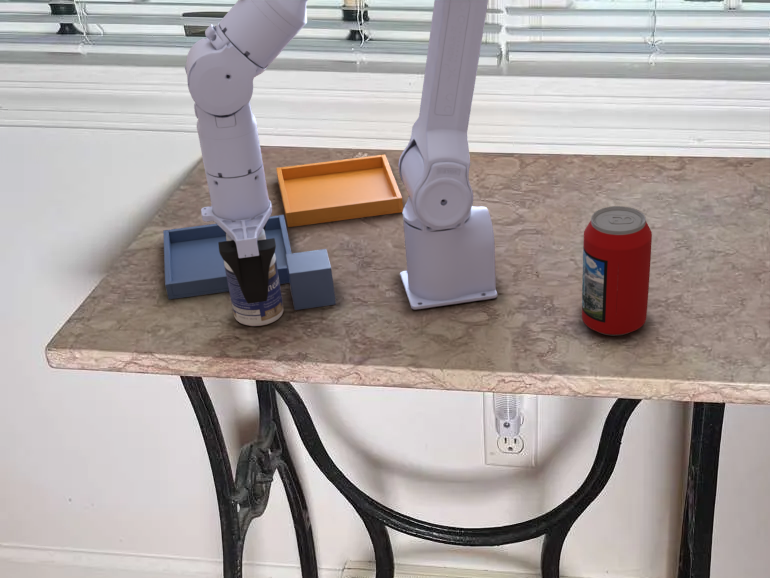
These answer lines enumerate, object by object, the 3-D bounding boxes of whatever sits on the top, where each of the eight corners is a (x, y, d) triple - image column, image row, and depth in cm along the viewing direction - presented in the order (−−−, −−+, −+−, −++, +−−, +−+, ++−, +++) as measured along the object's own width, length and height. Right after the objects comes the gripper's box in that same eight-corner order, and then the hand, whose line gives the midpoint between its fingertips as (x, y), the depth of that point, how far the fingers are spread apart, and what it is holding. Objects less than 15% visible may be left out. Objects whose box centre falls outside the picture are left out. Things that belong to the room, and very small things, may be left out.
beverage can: (580, 306, 127) (583, 203, 119) (644, 306, 126) (651, 202, 118) (581, 340, 121) (584, 234, 114) (648, 340, 121) (655, 234, 113)
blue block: (330, 284, 132) (326, 248, 129) (335, 304, 129) (331, 268, 126) (290, 290, 131) (285, 253, 129) (294, 310, 128) (289, 273, 125)
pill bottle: (275, 329, 125) (261, 247, 119) (227, 325, 126) (211, 243, 120) (291, 303, 129) (278, 222, 123) (244, 299, 130) (230, 219, 124)
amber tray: (386, 167, 155) (385, 154, 154) (403, 212, 145) (402, 197, 144) (278, 181, 153) (276, 167, 152) (287, 227, 143) (285, 213, 142)
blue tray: (285, 228, 143) (283, 214, 142) (296, 281, 133) (294, 266, 132) (166, 244, 141) (163, 230, 140) (168, 299, 131) (165, 284, 130)
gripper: (190, 141, 122) (213, 259, 130) (195, 202, 111) (220, 327, 119) (259, 133, 123) (277, 250, 131) (271, 193, 112) (290, 317, 120)
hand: (254, 286), depth 126 cm, fingers closed on pill bottle, 5 cm apart
